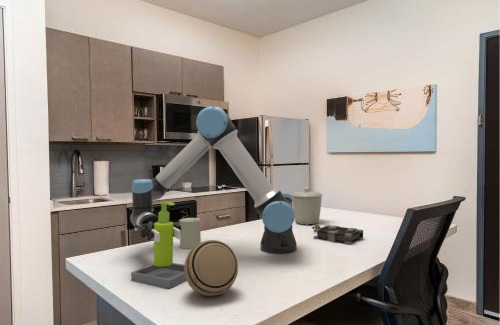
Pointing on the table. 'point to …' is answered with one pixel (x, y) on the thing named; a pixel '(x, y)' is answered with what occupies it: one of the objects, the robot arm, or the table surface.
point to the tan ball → (211, 268)
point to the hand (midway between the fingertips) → (169, 236)
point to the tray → (160, 275)
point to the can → (190, 232)
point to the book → (338, 234)
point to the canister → (306, 206)
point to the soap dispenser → (164, 238)
